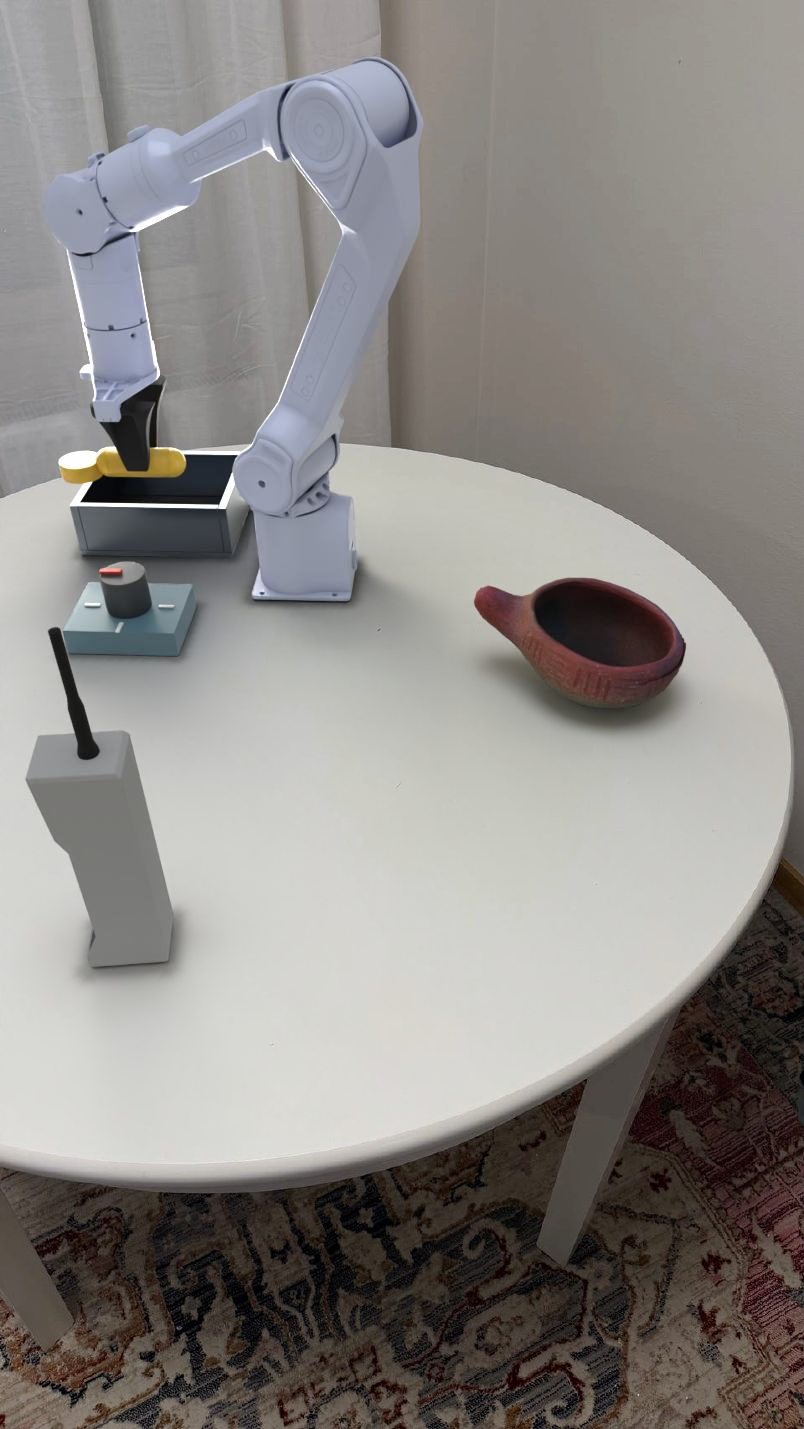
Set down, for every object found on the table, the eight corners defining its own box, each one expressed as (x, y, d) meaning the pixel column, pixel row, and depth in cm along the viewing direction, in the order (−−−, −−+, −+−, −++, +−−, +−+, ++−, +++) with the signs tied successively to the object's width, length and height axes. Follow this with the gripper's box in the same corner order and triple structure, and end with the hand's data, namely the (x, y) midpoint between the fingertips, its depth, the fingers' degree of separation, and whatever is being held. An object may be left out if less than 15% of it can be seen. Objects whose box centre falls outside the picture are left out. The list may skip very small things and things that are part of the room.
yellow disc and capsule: (191, 466, 100) (187, 440, 98) (183, 485, 97) (179, 458, 95) (69, 465, 101) (62, 438, 99) (56, 484, 98) (50, 457, 96)
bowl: (638, 632, 91) (651, 556, 86) (697, 722, 82) (716, 642, 77) (467, 655, 89) (470, 578, 84) (507, 750, 79) (513, 670, 74)
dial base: (197, 605, 96) (193, 581, 94) (178, 657, 89) (173, 632, 88) (94, 603, 96) (88, 579, 94) (67, 654, 90) (60, 630, 88)
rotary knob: (156, 594, 92) (149, 558, 90) (145, 619, 89) (138, 583, 87) (113, 593, 93) (105, 557, 90) (101, 618, 90) (92, 582, 87)
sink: (253, 498, 112) (247, 451, 108) (232, 558, 102) (225, 508, 98) (114, 496, 112) (104, 449, 109) (81, 555, 103) (69, 506, 99)
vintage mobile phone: (98, 922, 67) (-2, 610, 51) (174, 917, 67) (98, 604, 51) (90, 969, 64) (-20, 654, 48) (169, 963, 64) (87, 648, 48)
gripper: (93, 293, 95) (120, 429, 104) (45, 349, 84) (80, 497, 92) (167, 293, 95) (188, 430, 103) (128, 350, 83) (156, 498, 92)
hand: (142, 462), depth 98 cm, fingers closed on yellow disc and capsule, 3 cm apart
